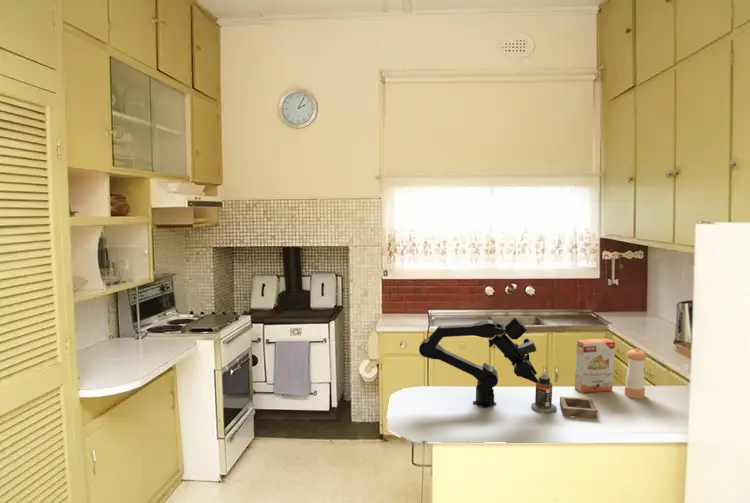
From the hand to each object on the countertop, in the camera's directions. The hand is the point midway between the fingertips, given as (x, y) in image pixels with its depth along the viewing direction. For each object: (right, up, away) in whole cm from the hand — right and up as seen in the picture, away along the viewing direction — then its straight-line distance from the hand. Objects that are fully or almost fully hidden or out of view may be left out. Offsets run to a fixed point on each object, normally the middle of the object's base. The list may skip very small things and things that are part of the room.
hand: (536, 378), depth 211 cm
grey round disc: (+3, -12, +1) cm, 12 cm away
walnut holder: (+15, -12, -2) cm, 19 cm away
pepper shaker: (+43, -10, +14) cm, 46 cm away
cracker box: (+29, -10, +20) cm, 36 cm away
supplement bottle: (+3, -11, +1) cm, 11 cm away
